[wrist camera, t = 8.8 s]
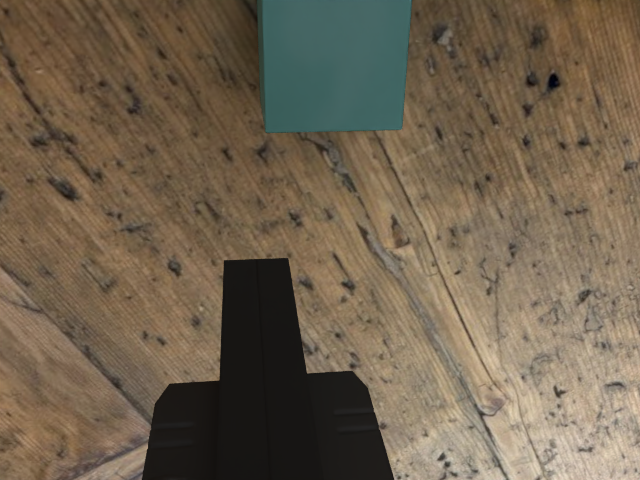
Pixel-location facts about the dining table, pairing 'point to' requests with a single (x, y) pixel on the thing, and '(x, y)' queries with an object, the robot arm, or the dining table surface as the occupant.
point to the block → (332, 64)
